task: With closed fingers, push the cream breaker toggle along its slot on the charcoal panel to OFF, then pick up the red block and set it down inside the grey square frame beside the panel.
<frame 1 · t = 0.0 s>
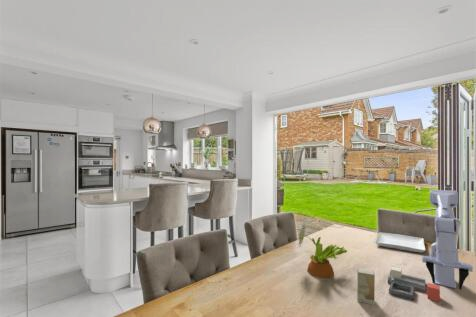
hand: (446, 285, 95), 10 cm above the table, tool pointing down, fingers open, 7 cm apart
breaker panel: (406, 283, 117), on the table
breaker toggle: (396, 273, 119), point 4 cm above the table, slide at 0.0 cm
square plate: (399, 245, 169), on the table
grey square frame: (401, 292, 109), on the table
red block: (433, 298, 104), on the table
skincare box: (365, 301, 103), on the table
decorative plant: (322, 273, 128), on the table
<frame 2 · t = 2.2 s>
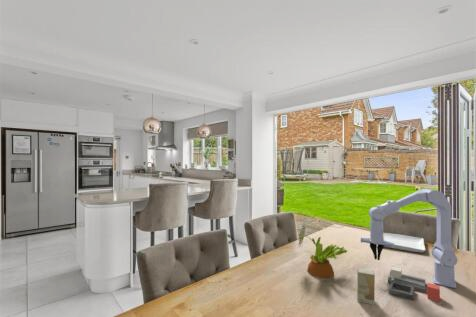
hand: (377, 259, 124), 8 cm above the table, tool pointing down, fingers closed
nothing on the table moved.
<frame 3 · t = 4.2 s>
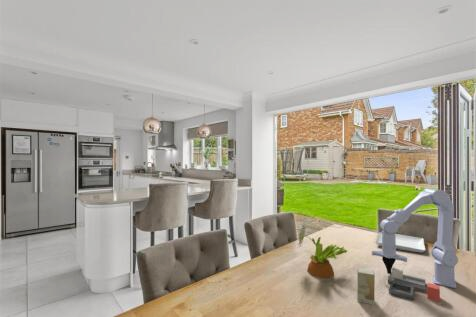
hand: (389, 273, 121), 3 cm above the table, tool pointing down, fingers closed
breaker toggle: (397, 273, 119), point 4 cm above the table, slide at 0.5 cm, touching gripper
everything else where it was.
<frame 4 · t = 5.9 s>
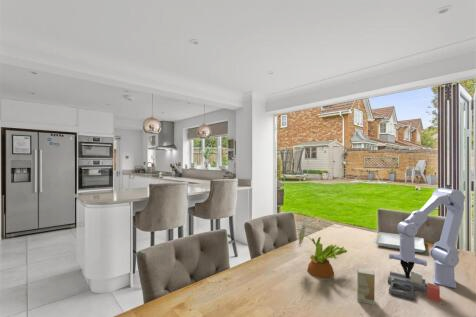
hand: (407, 277, 116), 3 cm above the table, tool pointing down, fingers closed
breaker toggle: (416, 277, 114), point 4 cm above the table, slide at 7.9 cm, touching gripper
everything else where it was.
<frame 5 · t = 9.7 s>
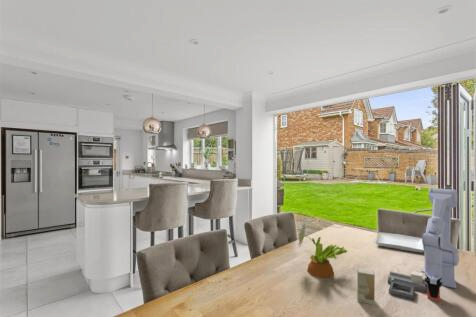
hand: (433, 294, 104), 1 cm above the table, tool pointing down, fingers closed on red block, 4 cm apart
breaker toggle: (416, 277, 114), point 4 cm above the table, slide at 8.0 cm
red block: (433, 298, 104), on the table, touching gripper
everything else where it was.
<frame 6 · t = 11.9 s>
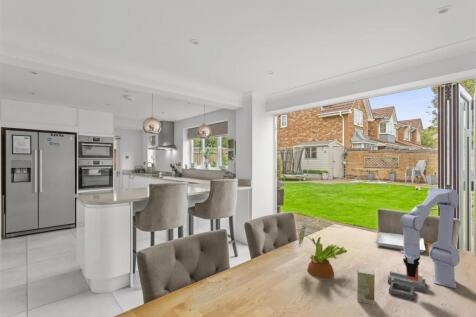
hand: (411, 274, 107), 8 cm above the table, tool pointing down, fingers closed on red block, 4 cm apart
red block: (412, 278, 107), point 7 cm above the table, touching gripper
everything else where it was.
when the fingers open (3 cm above the table, at t = 14.0 s): red block drops 2 cm, resting in grey square frame.
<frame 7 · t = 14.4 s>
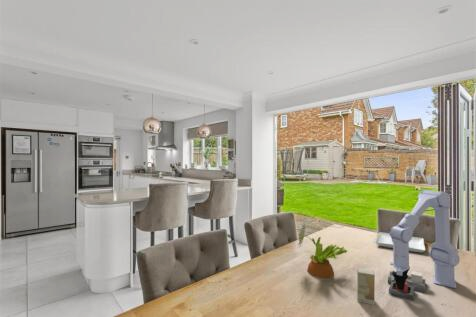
hand: (401, 285, 109), 3 cm above the table, tool pointing down, fingers open, 7 cm apart
red block: (402, 292, 108), resting in grey square frame
everything else where it was.
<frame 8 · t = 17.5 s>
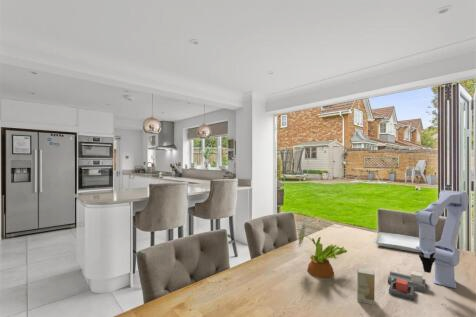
hand: (427, 269, 110), 9 cm above the table, tool pointing down, fingers open, 7 cm apart
nothing on the table moved.
at the end: breaker toggle slide at 8.0 cm; red block 0.2 cm off-centre on the grey square frame, point 0.0 cm above the grey square frame's base; red block tilted 0° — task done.
